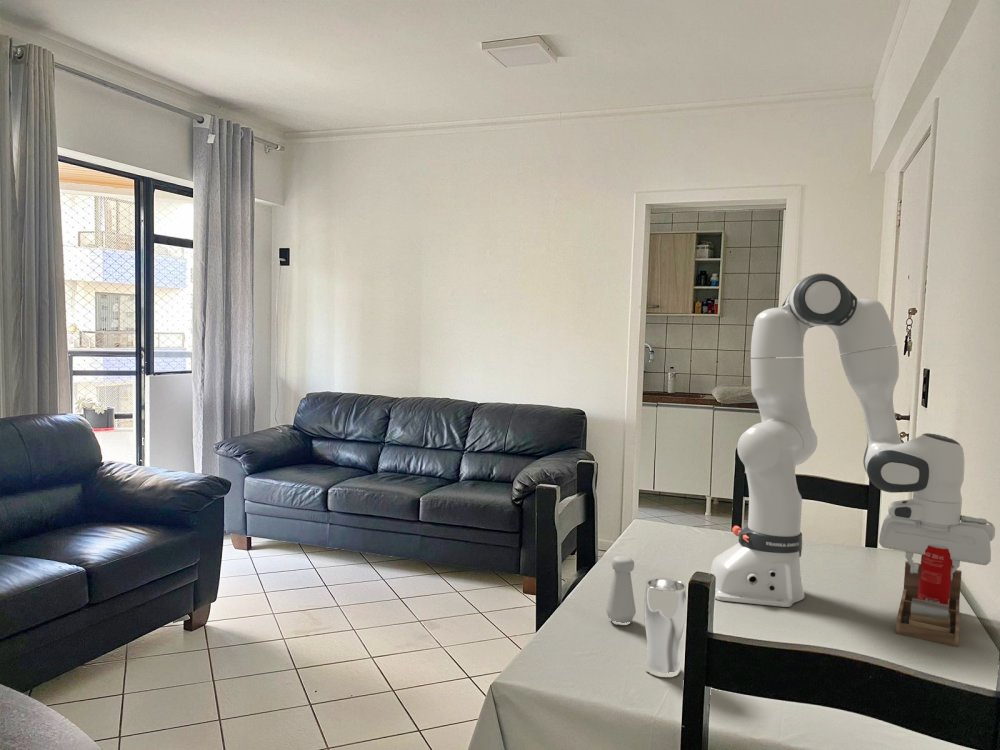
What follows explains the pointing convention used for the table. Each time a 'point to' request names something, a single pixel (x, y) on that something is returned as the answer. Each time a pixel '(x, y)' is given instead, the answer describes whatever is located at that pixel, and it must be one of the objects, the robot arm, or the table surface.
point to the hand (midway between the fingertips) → (930, 576)
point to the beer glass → (664, 622)
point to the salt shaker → (621, 591)
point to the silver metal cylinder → (930, 615)
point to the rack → (912, 592)
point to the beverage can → (935, 575)
